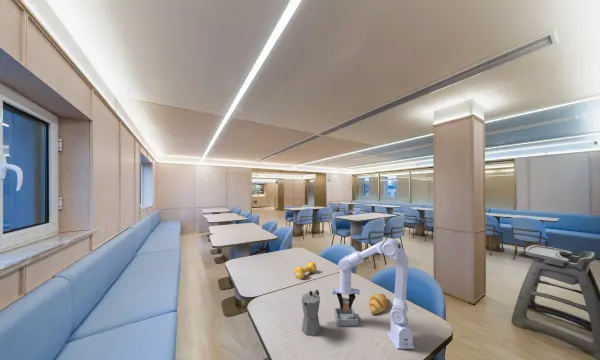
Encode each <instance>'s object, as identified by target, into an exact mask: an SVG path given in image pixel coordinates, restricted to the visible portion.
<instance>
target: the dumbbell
mask: <svg viewBox="0 0 600 360" xmlns="http://www.w3.org/2000/svg"><path fill="white" fill-rule="evenodd" d="M317 268H318V267H317V265H316V263H315V262H314V261H311V260H310V261H308V262H307V263H306V266H305V267H302V266H296V267H295V269H294V271H293V272H294V273H293V274H294V276H295V278H297V279H298V280H302V279H304V277H305V276H306V275H305V274H306V273H310V274H314V273H315V272H317Z"/></svg>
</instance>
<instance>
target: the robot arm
mask: <svg viewBox="0 0 600 360" xmlns="http://www.w3.org/2000/svg"><path fill="white" fill-rule="evenodd" d="M375 254H380V255H383V254H384V255H385V256H387V258H388V257H389V258H390V259H392V260H393V262H394V263H395V266H396V269H395V284H394V293H393V294H394V295H393V296H394V297H393V302H392V307H391V309H390V313H389V317H390V331H387V332H386V333H387V335H388V337H389V339H390V341H391V342H392V343H393V345H394V347H395V349H397V350H403V349H404V350H406V349H407V350H409V349H411V350H412V349H414V350H415V348H416V346H415V345H414V341H413V340H414V339H413V338H414V337H413V336H414V335H413V332H412V330H411V328H410V326H409V319H408V317H407V315H408V311H409V310H408V309H409V307H408V305H407V286H408V272H409V258H408V255H407V254H406V252H405V251H404V249H403V245H402V243H400V242H399V240H397V239H395V238H387V239H385V240H382V241H379V242H377V243H375V244H373V245H372V246H370V247H368V248H366V249H364V250H363V251H359V250H354V251H353V250H352V253H351V254H348V255H347V254H346V255H345V256H344V257H343V258H341V259H340V260H339V261H338V269H339V287H336V288H331V290H330V291H331V295H332V296H333V295H336V296H337V299H338V303H339V308H341V309H342V298H343V295H346V296H347V295H348V299H349V300H350V302H349V308H350V309H351V308H353V307H352V306H353V303H354V302H355V299H356V295H359V296H360V295H361V290H360V289H359V288H353V287H352V268H353V267H356V266H358V265H360V264H362V263H364V261H365V259H366V258H368V257H370V256H373V255H375Z"/></svg>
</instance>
